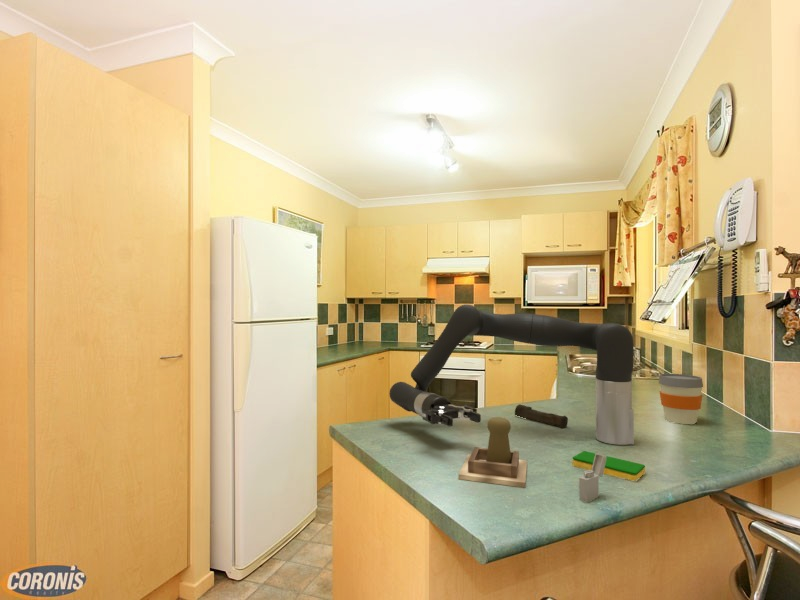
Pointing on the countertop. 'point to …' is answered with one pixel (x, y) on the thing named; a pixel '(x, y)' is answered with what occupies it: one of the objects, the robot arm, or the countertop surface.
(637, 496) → the countertop surface
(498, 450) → the cork
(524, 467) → the shaker stand
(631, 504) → the countertop surface
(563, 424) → the hand tool
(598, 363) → the robot arm
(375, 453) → the countertop surface
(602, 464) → the lighter
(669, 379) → the reusable coffee cup
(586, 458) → the dish sponge
